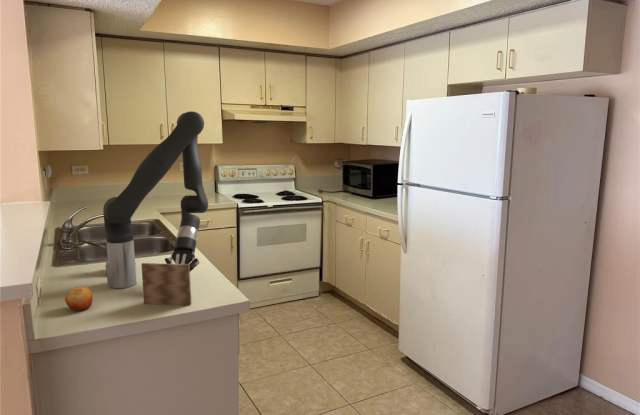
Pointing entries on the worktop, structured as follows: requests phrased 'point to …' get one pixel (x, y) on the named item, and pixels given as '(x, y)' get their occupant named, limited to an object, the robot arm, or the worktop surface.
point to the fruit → (79, 298)
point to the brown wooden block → (166, 283)
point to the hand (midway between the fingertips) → (177, 283)
